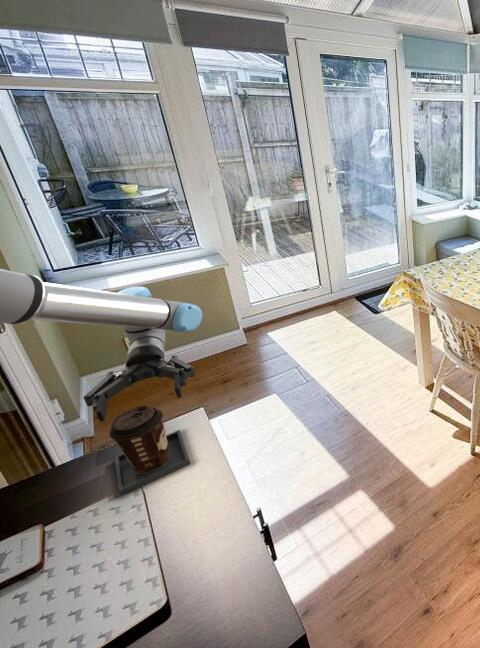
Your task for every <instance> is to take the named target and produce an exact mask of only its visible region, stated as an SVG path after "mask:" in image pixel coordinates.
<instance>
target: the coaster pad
mask: <svg viewBox="0 0 480 648" xmlns="http://www.w3.org/2000/svg"><path fill="white" fill-rule="evenodd" d="M166 437H167V442H168V444H167V447H168V449H169V452H170V458H169V460H168V461H167V462H166V463H165V464H164V465H163V466H162V467H160V468H159V469H157V470H155V471H152V472H150V473H146V474H136V473H135V471H134V468H133V467H132V466H131V465H130V463H129V462H128V460H127V459H126V456H125V455H124V454H123V452H122V453H120V454H118V455H115V456H113V457H114V466H115V473H116V481H117V489H118V493H119V495H120V497H123V496H125V495H128V494H129V493H131V492H133V491H136V490H138V489H140V488H142V487H144V486H147V485H148V484H151V483H152V482H155V481H157V480H159V479H161V478H163V477H165V476H168V475H170V474H172V473H174V472H176V471H179V470H181V469H184V468H185V467H187V466H189V465H191V460H190V457H189V454H188V452H187V448H186V446H185V445H186V444H185V441H184V439H183V436H182V432H181V430H180V429H178V430H176V431H173V432H171V433H168V434H166Z"/></svg>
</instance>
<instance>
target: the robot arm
mask: <svg viewBox="0 0 480 648" xmlns="http://www.w3.org/2000/svg"><path fill="white" fill-rule="evenodd" d="M202 319H203V311H202V310H201V308H200V307H199V305H198V306H197V305H195V304H193V303H189V302H181V301H175V300H168V299H163V298H157V297H152V293H151V291H150V290H149V289H148V287H145V286H132V287H127V288H124V289H121V290H119V291H117V292H112V291H105V290H99V289H93V288H85V287H78V286H72V285H65V284H59V283H52V282H44V281H43V280H42V279H41V278H40V277H39V276H36V275H33V274H27V273H22V272H16V271H13V270H12V271H11V270H7V269H3V268H0V324H4V325H5V324H8V325H22V324H25V323H27V322H29V321H43V322H54V323H55V322H56V323H57V322H58V323H70V324H84V325H96V326H97V325H99V326H113V327H123V329H124V332H125V334H126V337H127V340H128V351H127V354H126V355H127V356H126V360H125V368H124V369H123V370H122V371H119V372H116V373H115V371H113V370H110V371H108V372H107V374H106V375H105V377H104V378H103V379H102V380H101V381H99V382H98V383H97V384H96V385H95V386H94V387H92V389H90V390H89V391H88V392H87V393H86V394H85V395H84V396H83V397H82V398H83V400H84V402H85V405H86V406H87V407H92V409H93V411H94V412H95V415H96V416H97V419H98V421H99V423H100V422H105V421H106V416H107V411H108V407H109V400H111V399H112V398H113V397H115V396H116V395H117V394H119V393H120V392H121V391H123V390H125V389H126V388H127V387H131V386H133V385H134V384H136V383H138V382H141V381H143V380H148V379H152V378H154V377H156V378H163V377H164V378H166V379H172V380H174V391H175V394H176V397H177V399H179V398H182V397H183V393H182V388H183V387H186V386H187V384H188V383H187V381H188V380H187V379H188V378H193V377H196V374H197V373H196V371H195V368H194V366H193V365H191V364H190V363H189V364H188V363H187V362H186V361H184V360H182V359H180V358H179V357H178V355H177V354H174V355H171V357H170V359H167V360H165V352H166V337H167V332H166V331H174V332H177V333H179V332H180V333H190V332H193V331H195V330H196V329H197V328H198V327H199V326H200V325H201V322H202Z"/></svg>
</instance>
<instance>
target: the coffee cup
mask: <svg viewBox="0 0 480 648" xmlns="http://www.w3.org/2000/svg"><path fill="white" fill-rule="evenodd" d="M163 418H164V413H163V411H162V410H161V409H157V408H156V407H152V406H150V405H148V406H147V405H140V406H135V407H134V408H132V409H130V410H129V409H128V410H127V411H124V412H123V413H121V414H119V415H117V416H116V417H115V418H114V419H113V421H112V423H111V425H110V429H109V438H111V439H112V440H114V441H115V443H116V445H117V446H118V447H119V449H120V450H121V452H122V453H123V454H124V455H125V456H126V459H127V460H128V462H129V463H130V465H131V466H132V467H133V468H134V471H135V473H136V474H146V473H150V472H152V471H155V470H157V469H159V468H160V467H162V466H163V465H164V464H165V463H166V462H167V461H168V460H169V458H170V452H169V449H168V447H167V444H168V442H167V437H166V435H167V434H166V430H165V425H164V422H163V421H162V420H163Z"/></svg>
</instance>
